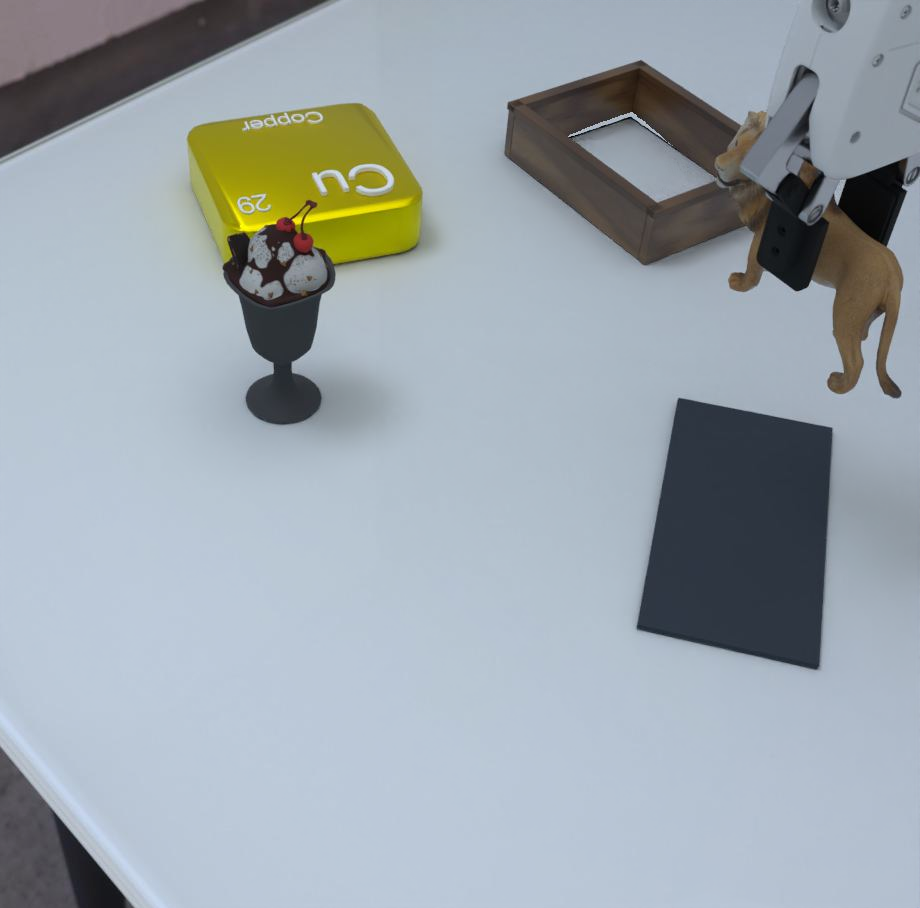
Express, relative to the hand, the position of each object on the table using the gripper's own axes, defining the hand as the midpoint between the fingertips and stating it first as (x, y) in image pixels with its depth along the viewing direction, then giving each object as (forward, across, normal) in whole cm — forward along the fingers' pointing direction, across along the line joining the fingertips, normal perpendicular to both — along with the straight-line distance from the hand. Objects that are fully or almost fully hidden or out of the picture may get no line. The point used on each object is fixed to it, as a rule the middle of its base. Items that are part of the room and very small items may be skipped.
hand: (819, 256), depth 67 cm
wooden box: (+18, +18, +31) cm, 40 cm away
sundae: (+19, -19, +23) cm, 35 cm away
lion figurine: (+4, 0, +1) cm, 4 cm away
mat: (+18, -1, -1) cm, 18 cm away
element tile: (+19, -7, +41) cm, 45 cm away
